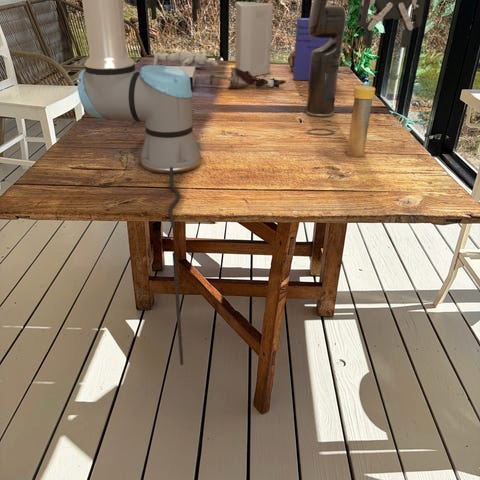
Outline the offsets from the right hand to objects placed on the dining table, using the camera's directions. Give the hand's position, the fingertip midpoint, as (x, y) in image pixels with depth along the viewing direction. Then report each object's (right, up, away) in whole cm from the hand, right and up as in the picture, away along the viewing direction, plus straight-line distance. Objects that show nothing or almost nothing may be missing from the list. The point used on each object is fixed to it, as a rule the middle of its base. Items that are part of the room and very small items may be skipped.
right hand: (385, 47), depth 111 cm
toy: (-59, +37, +114) cm, 133 cm away
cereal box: (-2, +25, +96) cm, 99 cm away
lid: (-2, -6, +11) cm, 13 cm away
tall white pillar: (-28, +32, +107) cm, 115 cm away
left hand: (-55, +25, +41) cm, 73 cm away
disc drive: (-61, +19, +85) cm, 107 cm away
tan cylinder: (-2, -21, +20) cm, 29 cm away
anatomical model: (-7, +35, +113) cm, 118 cm away
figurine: (-31, +16, +81) cm, 88 cm away
